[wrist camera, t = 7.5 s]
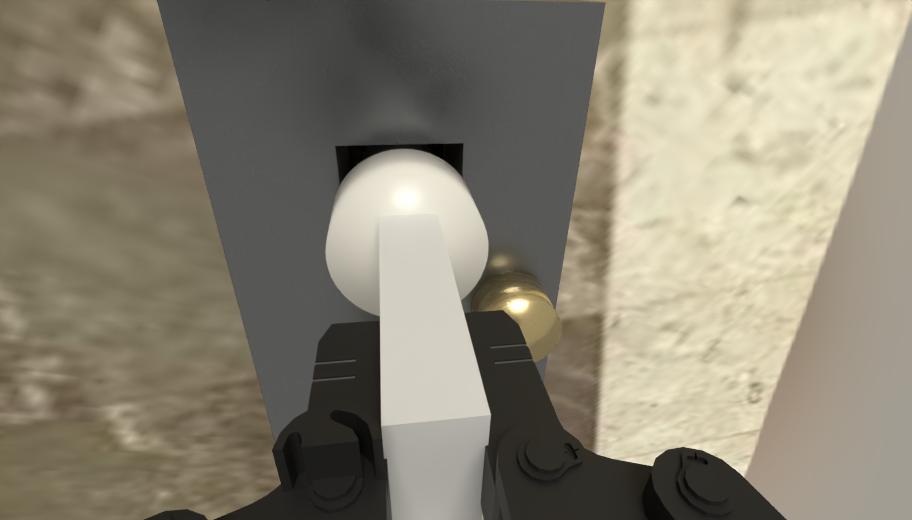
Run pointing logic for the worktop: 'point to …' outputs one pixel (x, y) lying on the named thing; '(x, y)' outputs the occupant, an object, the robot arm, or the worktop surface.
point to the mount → (375, 139)
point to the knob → (400, 193)
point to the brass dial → (522, 309)
